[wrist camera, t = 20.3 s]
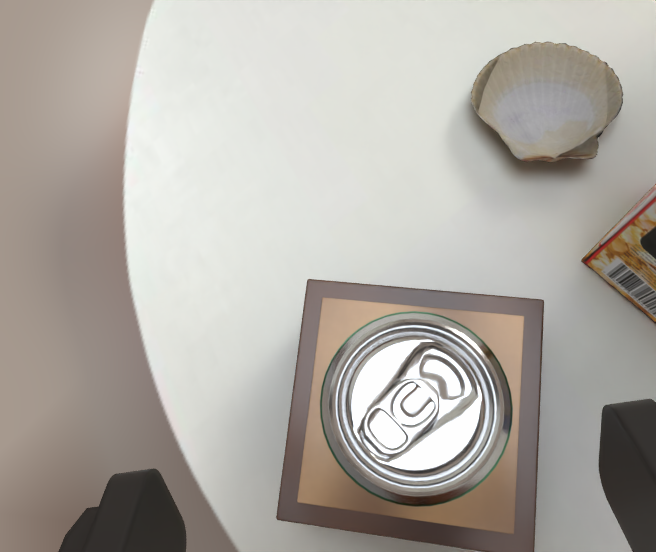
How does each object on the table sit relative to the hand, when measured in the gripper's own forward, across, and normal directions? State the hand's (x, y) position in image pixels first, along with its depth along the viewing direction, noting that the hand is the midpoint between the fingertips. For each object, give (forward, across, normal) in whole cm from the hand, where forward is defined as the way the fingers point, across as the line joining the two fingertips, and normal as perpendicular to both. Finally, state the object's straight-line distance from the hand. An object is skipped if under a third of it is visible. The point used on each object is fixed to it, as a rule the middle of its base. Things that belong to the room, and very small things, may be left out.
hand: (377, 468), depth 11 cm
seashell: (+28, -12, +4) cm, 30 cm away
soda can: (+12, -1, +10) cm, 16 cm away
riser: (+16, -1, +15) cm, 22 cm away
